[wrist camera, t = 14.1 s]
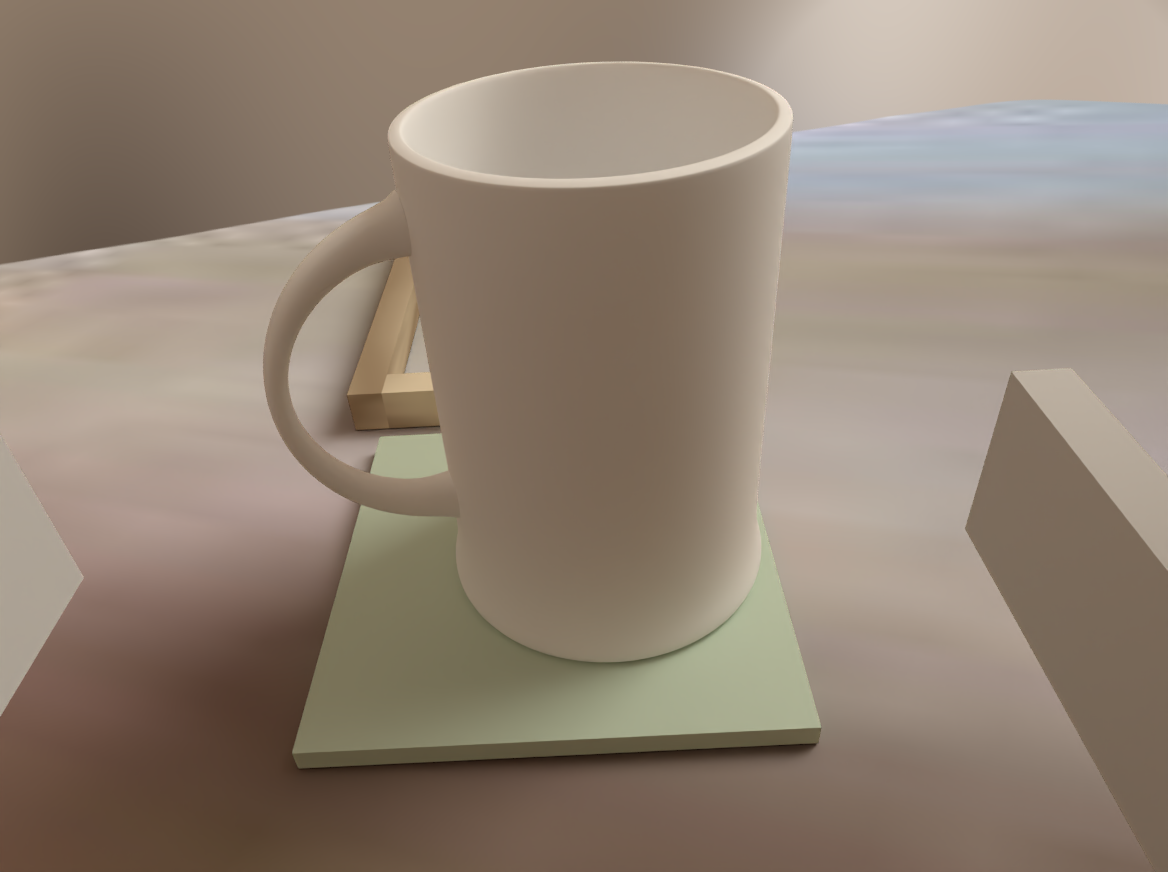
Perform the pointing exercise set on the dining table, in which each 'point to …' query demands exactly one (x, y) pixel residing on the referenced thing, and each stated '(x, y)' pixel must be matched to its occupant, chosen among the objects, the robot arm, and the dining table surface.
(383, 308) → the pocket frame
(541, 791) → the dining table surface
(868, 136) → the dining table surface
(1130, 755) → the robot arm
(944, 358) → the dining table surface
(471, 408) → the mug
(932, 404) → the dining table surface
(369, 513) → the coaster
